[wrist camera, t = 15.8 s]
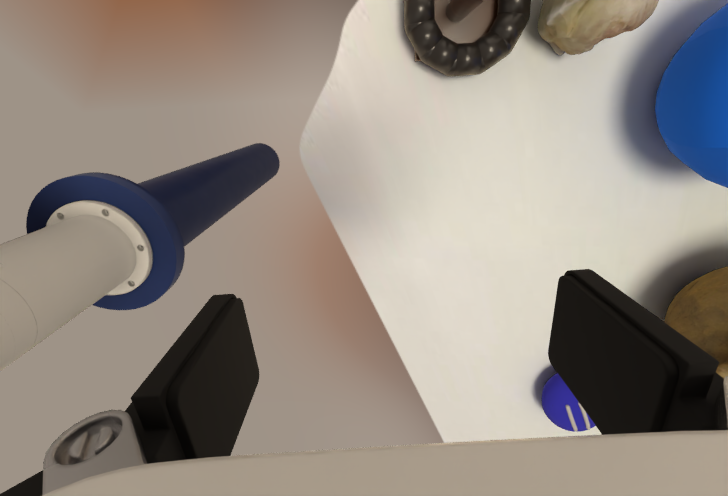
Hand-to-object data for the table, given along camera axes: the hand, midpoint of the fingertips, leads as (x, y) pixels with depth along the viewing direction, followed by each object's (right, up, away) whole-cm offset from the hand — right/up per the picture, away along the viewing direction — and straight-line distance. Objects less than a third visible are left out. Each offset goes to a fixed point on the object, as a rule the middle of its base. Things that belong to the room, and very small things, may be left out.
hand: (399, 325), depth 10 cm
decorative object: (+30, -18, +42) cm, 55 cm away
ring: (+9, +25, +22) cm, 34 cm away
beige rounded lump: (+20, +26, +25) cm, 41 cm away
